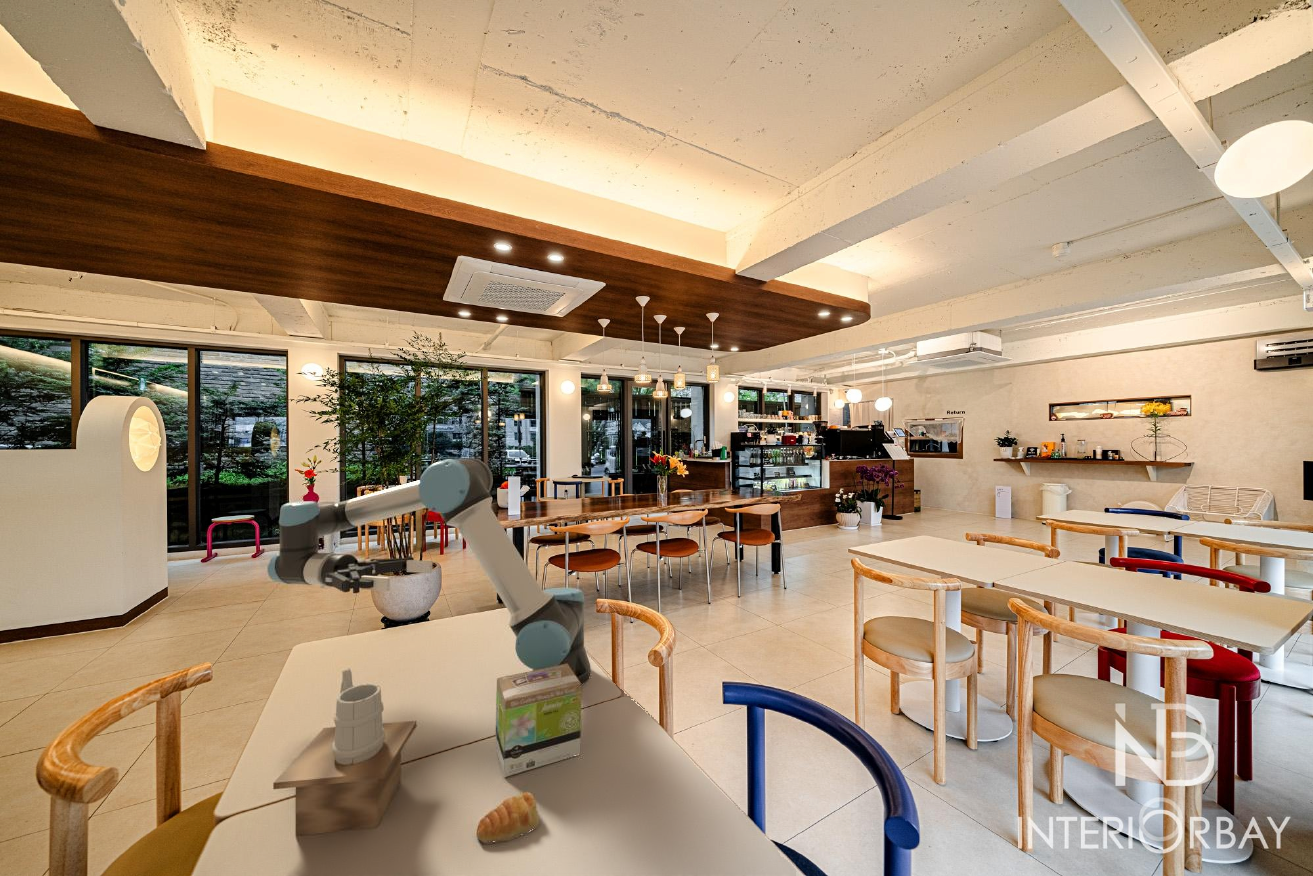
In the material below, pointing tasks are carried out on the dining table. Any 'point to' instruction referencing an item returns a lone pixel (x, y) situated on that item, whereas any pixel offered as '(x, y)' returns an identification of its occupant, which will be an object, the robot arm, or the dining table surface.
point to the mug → (357, 722)
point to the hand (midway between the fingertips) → (411, 575)
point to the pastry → (509, 819)
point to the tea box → (537, 718)
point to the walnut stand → (344, 783)
